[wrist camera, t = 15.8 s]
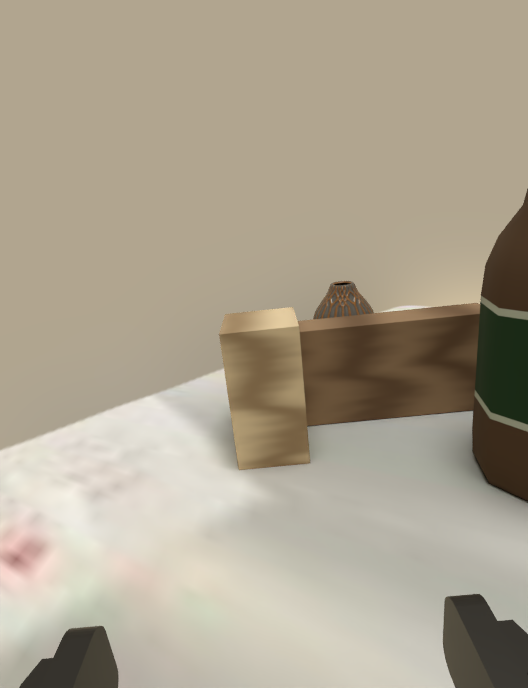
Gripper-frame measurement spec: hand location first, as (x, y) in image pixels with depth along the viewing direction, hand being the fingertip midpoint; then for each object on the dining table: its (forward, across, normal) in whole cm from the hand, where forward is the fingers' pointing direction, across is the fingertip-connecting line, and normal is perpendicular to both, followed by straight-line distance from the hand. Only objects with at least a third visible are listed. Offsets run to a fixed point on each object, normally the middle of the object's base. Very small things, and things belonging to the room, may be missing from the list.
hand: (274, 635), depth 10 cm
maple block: (+20, 0, +8) cm, 22 cm away
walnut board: (+24, -7, +8) cm, 27 cm away
